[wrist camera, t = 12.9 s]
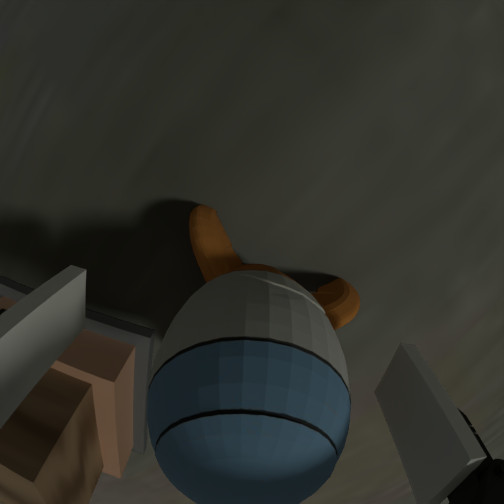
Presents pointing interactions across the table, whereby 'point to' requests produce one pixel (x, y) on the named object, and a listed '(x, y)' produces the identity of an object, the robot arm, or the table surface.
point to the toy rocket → (250, 380)
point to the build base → (123, 335)
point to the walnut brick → (51, 444)
